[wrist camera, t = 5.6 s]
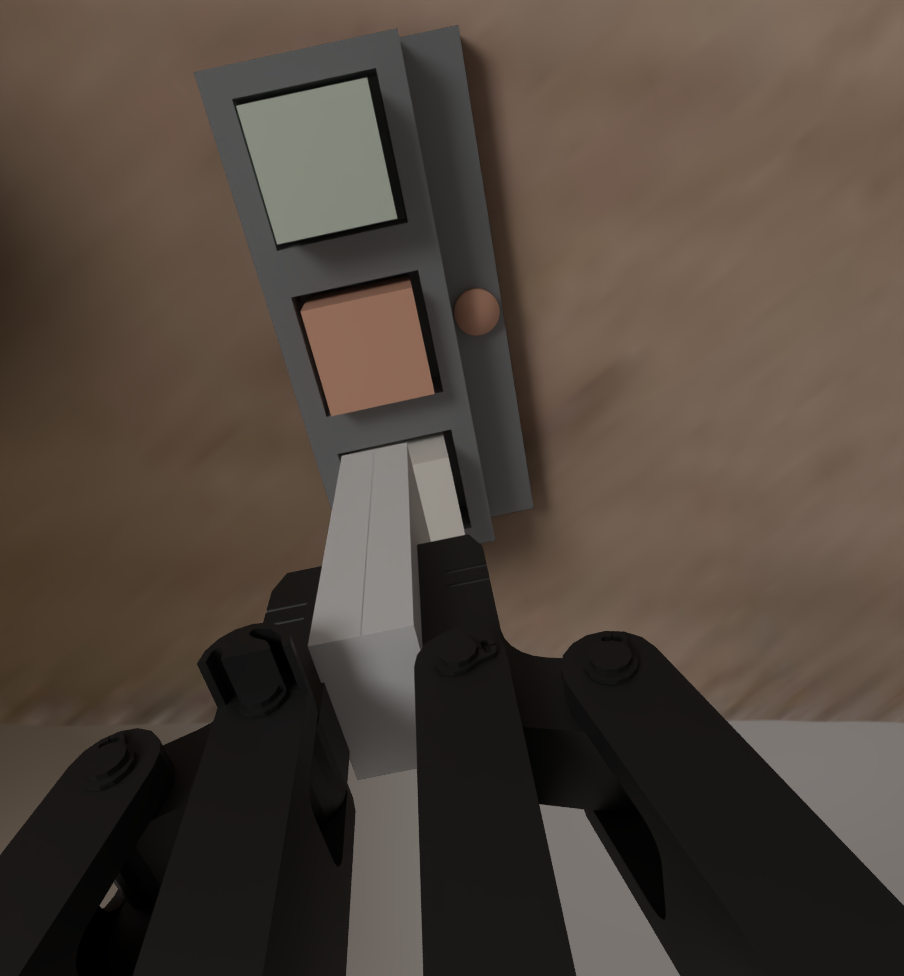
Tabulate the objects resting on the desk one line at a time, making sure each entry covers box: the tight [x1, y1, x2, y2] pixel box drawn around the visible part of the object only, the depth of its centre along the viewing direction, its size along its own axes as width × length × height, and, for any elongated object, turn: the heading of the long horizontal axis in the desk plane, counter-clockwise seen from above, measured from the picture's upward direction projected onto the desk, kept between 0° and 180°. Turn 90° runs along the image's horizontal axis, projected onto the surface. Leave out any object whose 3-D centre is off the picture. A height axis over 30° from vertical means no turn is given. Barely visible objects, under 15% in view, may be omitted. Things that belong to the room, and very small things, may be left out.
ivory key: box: [349, 432, 465, 542], centre depth 31 cm, size 4×4×3 cm
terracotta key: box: [301, 275, 435, 416], centre depth 28 cm, size 4×4×3 cm
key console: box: [194, 25, 534, 544], centre depth 30 cm, size 10×21×4 cm, turn 11°
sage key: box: [236, 78, 397, 244], centre depth 24 cm, size 4×4×3 cm
